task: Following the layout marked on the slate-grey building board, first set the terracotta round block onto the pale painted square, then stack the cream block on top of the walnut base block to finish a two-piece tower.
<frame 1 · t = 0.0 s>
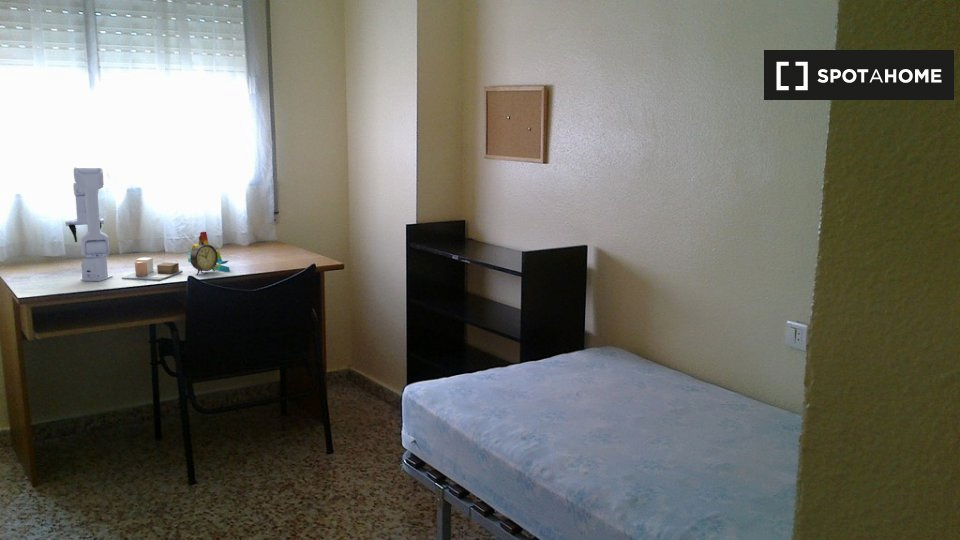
hand: (85, 240, 334), 11 cm above the table, tool pointing down, fingers open, 7 cm apart
alarm clock: (204, 273, 324), on the table
terracotta round block: (141, 275, 314), point 1 cm above the table, touching building board
cream block: (145, 271, 321), point 1 cm above the table, touching building board
walnut base block: (168, 273, 321), resting on building board
multicoloured piece: (208, 267, 339), on the table
building board: (152, 275, 318), on the table
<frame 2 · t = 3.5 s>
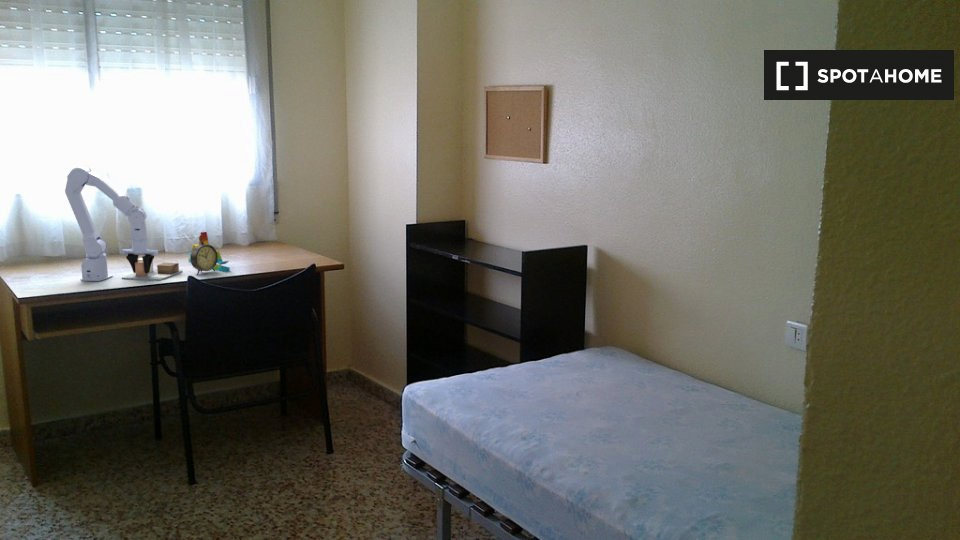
hand: (141, 272, 314), 2 cm above the table, tool pointing down, fingers closed on terracotta round block, 4 cm apart
terracotta round block: (141, 275, 314), point 1 cm above the table, touching building board, gripper
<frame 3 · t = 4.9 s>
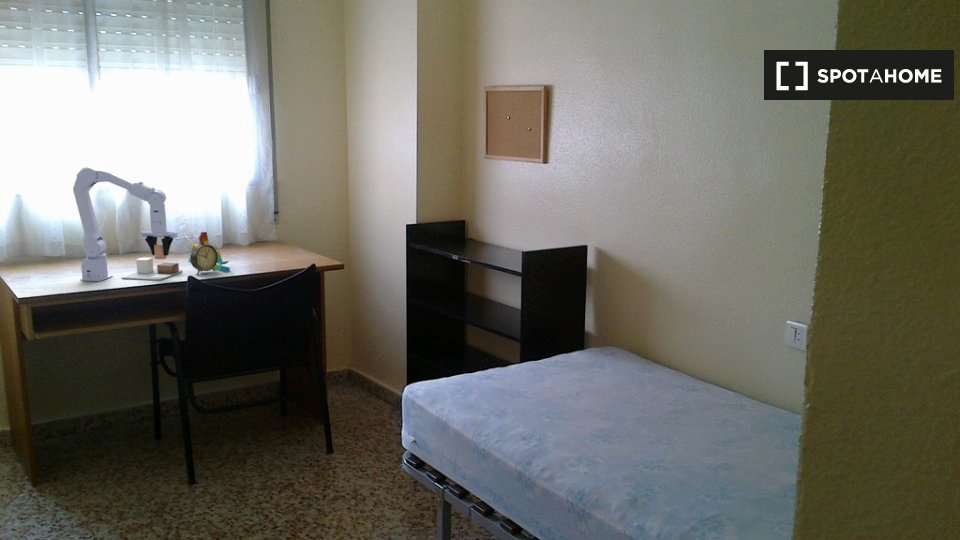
hand: (160, 255, 312), 9 cm above the table, tool pointing down, fingers closed on terracotta round block, 4 cm apart
terracotta round block: (160, 258, 313), point 8 cm above the table, touching gripper
everything else where it was.
when the fingers open (3 cm above the table, at t = 6.4 s): terracotta round block drops 1 cm, resting on building board.
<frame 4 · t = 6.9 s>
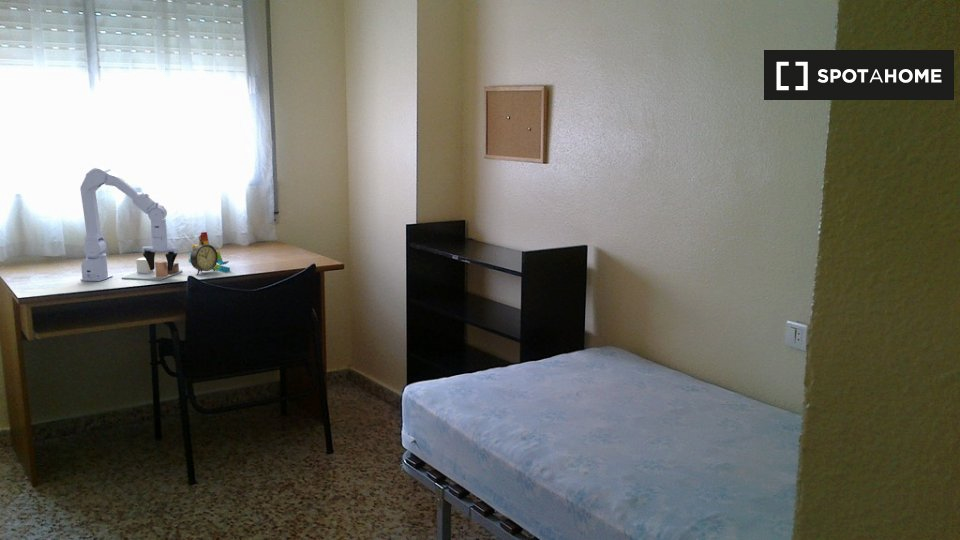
hand: (161, 270, 314), 3 cm above the table, tool pointing down, fingers open, 7 cm apart
terracotta round block: (161, 275, 314), point 1 cm above the table, touching building board
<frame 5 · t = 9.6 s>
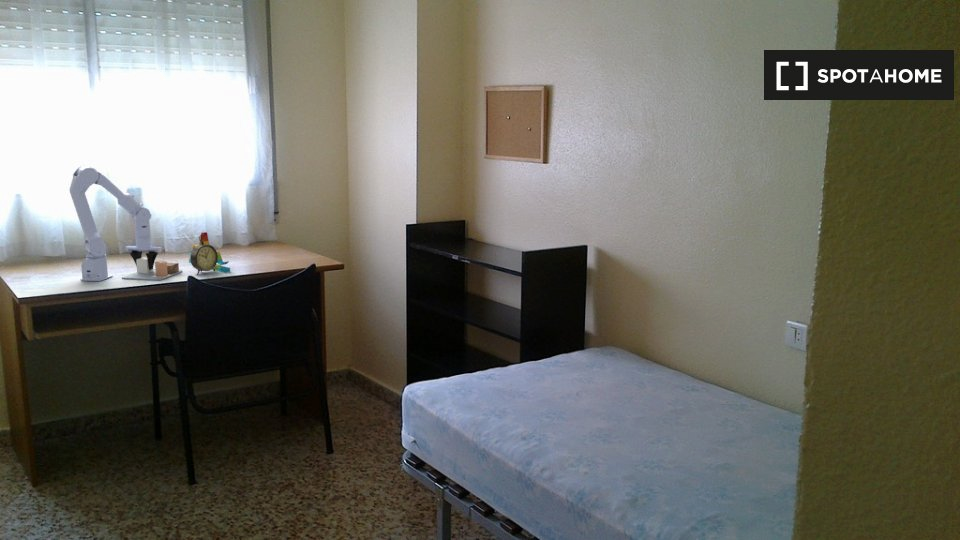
hand: (145, 269, 321), 2 cm above the table, tool pointing down, fingers closed on cream block, 4 cm apart
cream block: (145, 271, 321), point 1 cm above the table, touching building board, gripper
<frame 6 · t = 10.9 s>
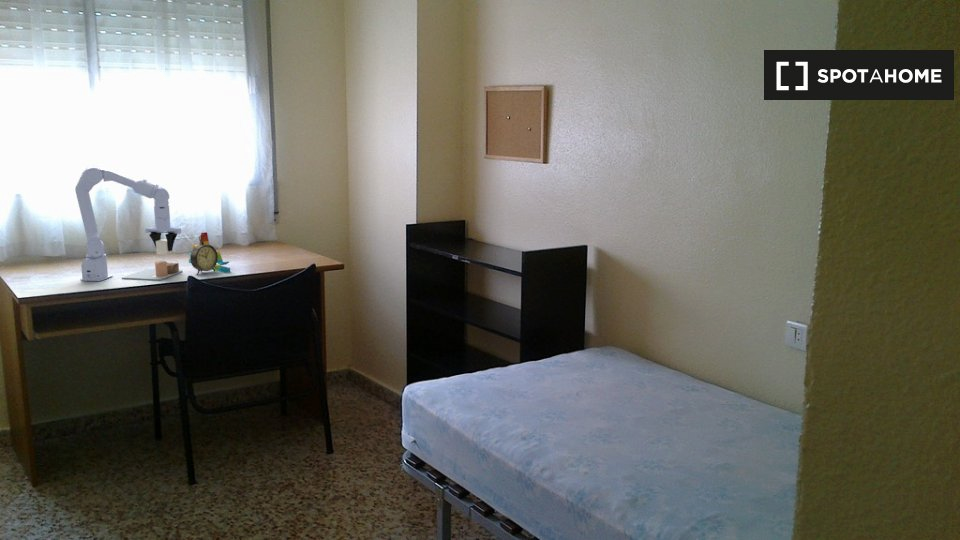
hand: (164, 250, 319), 10 cm above the table, tool pointing down, fingers closed on cream block, 4 cm apart
cream block: (164, 253, 320), point 8 cm above the table, touching gripper
when the fingers open (6 cm above the table, at t = 12.2 s): cream block stays where it is, resting on walnut base block.
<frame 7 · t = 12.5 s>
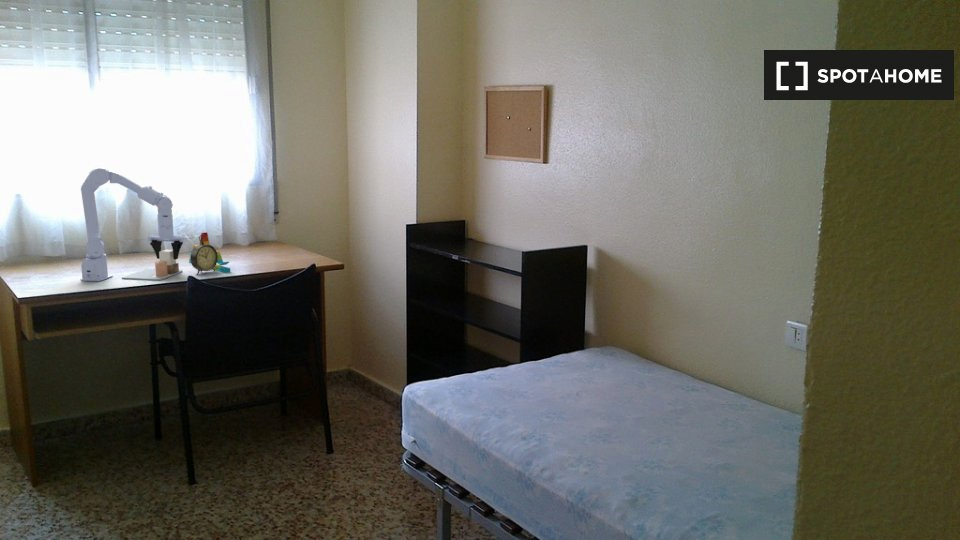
hand: (167, 258, 320), 6 cm above the table, tool pointing down, fingers open, 7 cm apart
cream block: (168, 264, 320), point 4 cm above the table, touching walnut base block
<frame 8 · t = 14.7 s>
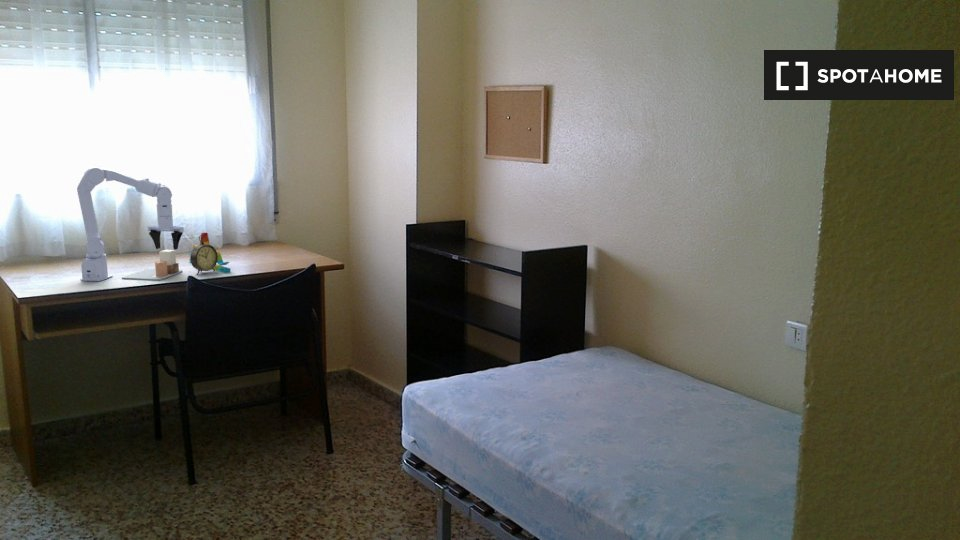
hand: (166, 248, 319), 10 cm above the table, tool pointing down, fingers open, 7 cm apart
at the end: cream block 0.1 cm off-centre on the walnut base block, point 4.1 cm above the walnut base block's base; cream block tilted 0°; terracotta round block 0.0 cm from the target spot, point 0.7 cm above the table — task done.
